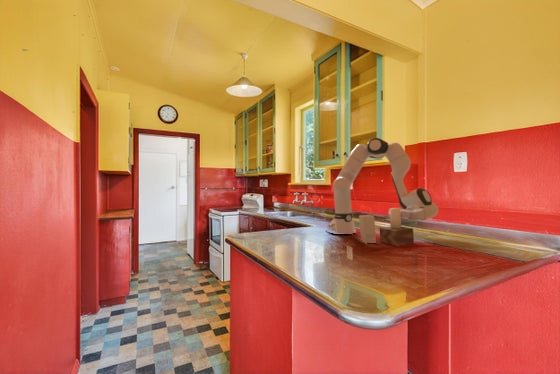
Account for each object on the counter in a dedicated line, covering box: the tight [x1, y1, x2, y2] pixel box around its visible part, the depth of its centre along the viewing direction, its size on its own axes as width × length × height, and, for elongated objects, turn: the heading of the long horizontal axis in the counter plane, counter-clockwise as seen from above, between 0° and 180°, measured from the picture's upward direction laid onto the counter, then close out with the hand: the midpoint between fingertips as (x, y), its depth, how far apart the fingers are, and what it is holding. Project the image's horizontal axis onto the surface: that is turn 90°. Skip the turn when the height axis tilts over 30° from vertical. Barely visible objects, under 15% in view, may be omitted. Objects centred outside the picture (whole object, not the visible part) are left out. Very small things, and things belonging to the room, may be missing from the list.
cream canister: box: [389, 207, 402, 229], centre depth 140 cm, size 6×6×11 cm
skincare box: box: [358, 214, 377, 244], centre depth 143 cm, size 8×7×16 cm
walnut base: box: [379, 226, 415, 247], centre depth 140 cm, size 12×12×8 cm
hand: (395, 214), depth 140 cm, fingers open, 8 cm apart
